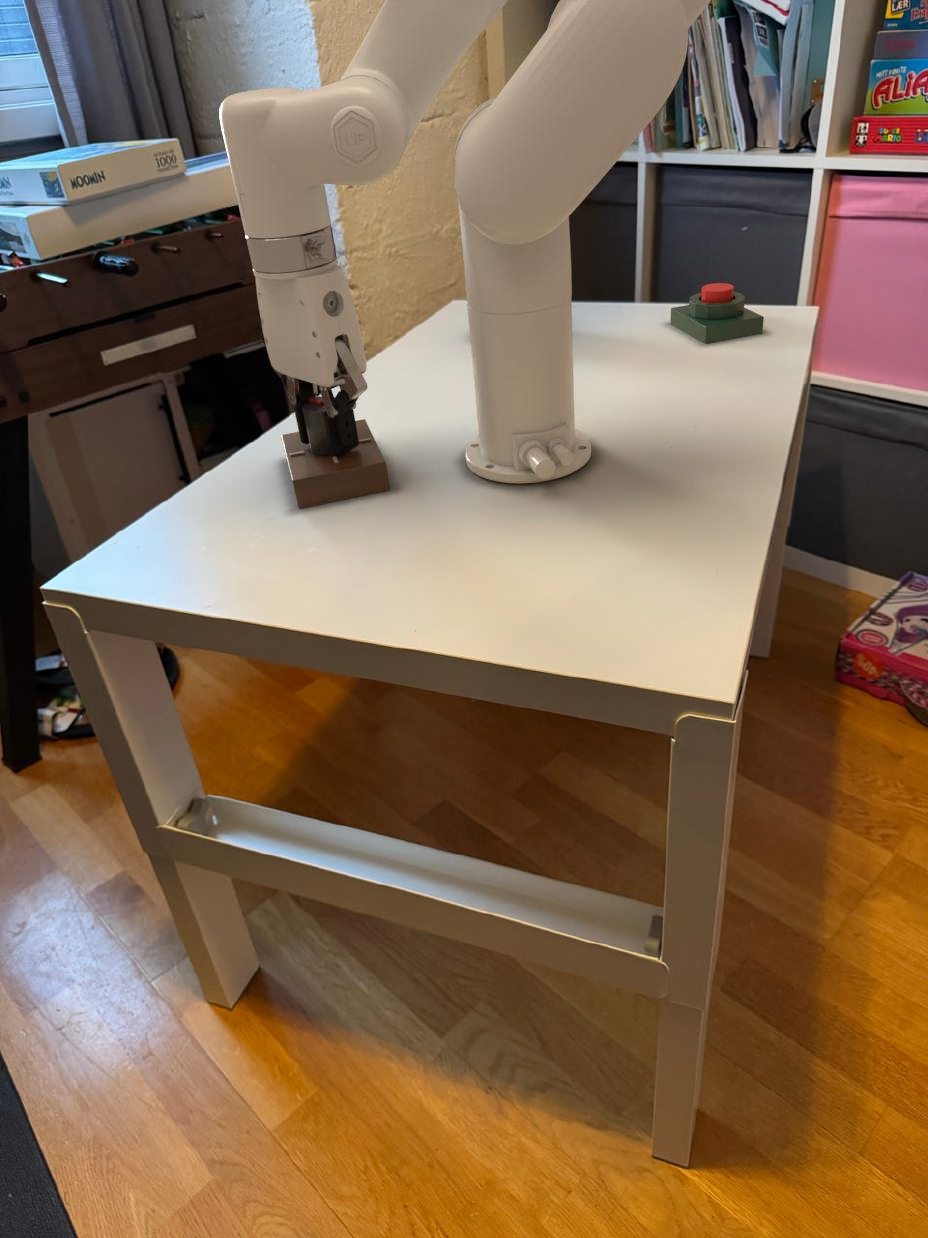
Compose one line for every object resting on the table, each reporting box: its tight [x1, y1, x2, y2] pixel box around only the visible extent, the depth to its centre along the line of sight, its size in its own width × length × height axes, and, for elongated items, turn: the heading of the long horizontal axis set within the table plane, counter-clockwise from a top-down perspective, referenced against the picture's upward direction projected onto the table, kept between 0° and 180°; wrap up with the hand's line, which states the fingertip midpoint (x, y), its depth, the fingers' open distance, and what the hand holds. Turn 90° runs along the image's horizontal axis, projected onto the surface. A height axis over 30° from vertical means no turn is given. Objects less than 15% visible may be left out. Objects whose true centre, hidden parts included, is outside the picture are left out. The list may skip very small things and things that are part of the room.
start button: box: [700, 282, 735, 303], centre depth 114 cm, size 4×4×2 cm
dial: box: [302, 396, 336, 456], centre depth 87 cm, size 4×4×5 cm
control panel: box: [280, 418, 391, 510], centre depth 89 cm, size 12×9×3 cm
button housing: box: [670, 291, 765, 345], centre depth 115 cm, size 10×8×4 cm
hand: (329, 442), depth 88 cm, fingers closed on dial, 4 cm apart
